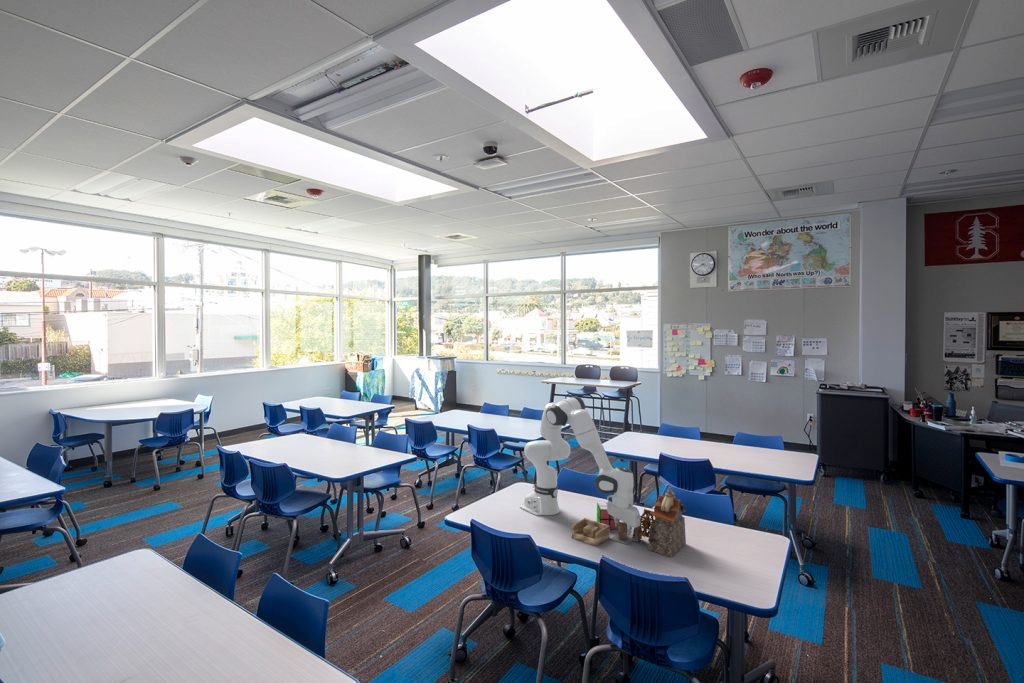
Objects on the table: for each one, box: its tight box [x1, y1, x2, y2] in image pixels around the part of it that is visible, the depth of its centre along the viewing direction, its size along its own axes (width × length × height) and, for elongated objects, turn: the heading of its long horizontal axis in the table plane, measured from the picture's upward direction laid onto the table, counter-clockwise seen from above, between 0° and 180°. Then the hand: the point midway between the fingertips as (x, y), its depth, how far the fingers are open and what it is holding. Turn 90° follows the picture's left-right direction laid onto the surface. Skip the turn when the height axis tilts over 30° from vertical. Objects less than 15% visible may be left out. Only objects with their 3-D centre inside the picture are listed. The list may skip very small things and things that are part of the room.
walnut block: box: [617, 521, 628, 540], centre depth 232 cm, size 4×4×7 cm
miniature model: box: [631, 482, 687, 558], centre depth 226 cm, size 18×21×30 cm
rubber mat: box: [609, 533, 634, 546], centre depth 232 cm, size 9×9×1 cm
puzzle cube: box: [596, 502, 621, 530], centre depth 248 cm, size 10×10×10 cm
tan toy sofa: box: [571, 517, 611, 547], centre depth 233 cm, size 14×12×6 cm
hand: (623, 529), depth 232 cm, fingers open, 6 cm apart
